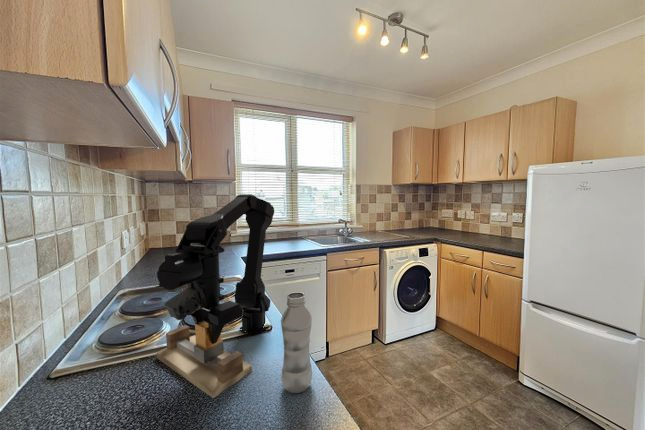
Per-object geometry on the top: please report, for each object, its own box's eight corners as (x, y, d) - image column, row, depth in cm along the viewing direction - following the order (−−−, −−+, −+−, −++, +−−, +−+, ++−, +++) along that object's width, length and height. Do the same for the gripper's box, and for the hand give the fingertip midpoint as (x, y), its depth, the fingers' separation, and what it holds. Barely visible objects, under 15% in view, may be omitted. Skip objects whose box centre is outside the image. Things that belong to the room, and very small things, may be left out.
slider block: (213, 347, 65) (212, 316, 65) (223, 353, 63) (222, 320, 63) (194, 358, 61) (192, 324, 61) (204, 364, 59) (202, 329, 58)
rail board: (194, 340, 75) (194, 321, 75) (251, 371, 61) (251, 348, 61) (156, 358, 67) (155, 337, 66) (213, 398, 53) (212, 372, 53)
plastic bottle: (275, 386, 56) (273, 295, 55) (299, 372, 61) (298, 287, 60) (294, 403, 52) (292, 304, 50) (319, 386, 56) (318, 294, 55)
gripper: (149, 277, 59) (153, 343, 61) (194, 294, 49) (197, 374, 50) (196, 266, 69) (199, 324, 70) (243, 278, 58) (245, 346, 59)
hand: (208, 340), depth 62 cm, fingers closed on slider block, 4 cm apart
